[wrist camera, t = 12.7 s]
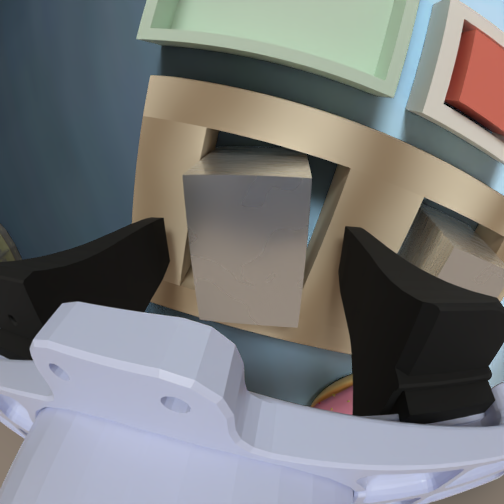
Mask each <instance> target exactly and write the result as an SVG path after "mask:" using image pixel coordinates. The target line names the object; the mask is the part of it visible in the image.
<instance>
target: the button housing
mask: <svg viewBox="0 0 504 504" xmlns="http://www.w3.org/2000/svg"><path fill="white" fill-rule="evenodd" d="M475 29H476V30H478V31H479V32H480V33H482V34H483V35H485V36H486V37H487V38H489V39H490V40H491V41H493V42H494V43H495V44H497V45H498V46H499V47H500V48H502V49H503V50H504V32H502V31H501V30H500V29H499V28H497V27H496V26H495V25H493V24H492V23H491V22H490V21H488V20H487V19H485V18H484V17H483V16H481V15H480V14H478V13H477V12H476V11H474V10H473V9H471V8H470V7H468V6H467V5H465V4H464V3H462V2H460V1H459V0H441V1H439V2H437V3H435V4H433V7H432V12H431V16H430V21H429V25H428V30H427V34H426V38H425V42H424V46H423V50H422V54H421V58H420V61H419V65H418V69H417V72H416V76H415V79H414V83H413V86H412V89H411V93H410V96H409V99H408V102H407V106H406V110H408V111H411V112H413V113H415V114H417V115H419V116H421V117H423V118H425V119H427V120H429V121H431V122H433V123H434V124H436V125H438V126H440V127H442V128H444V129H446V130H447V131H449V132H451V133H453V134H454V135H456V136H458V137H460V138H461V139H463V140H465V141H466V142H468V143H470V144H471V145H473V146H475V147H476V148H478V149H479V150H481V151H482V152H484V153H486V154H487V155H489V156H490V157H492V158H493V159H495V160H496V161H498V162H500V163H502V164H504V136H503V135H500V134H498V133H495V132H492V134H491V133H489V132H488V131H486V130H485V129H483V128H482V127H480V126H479V125H477V124H476V123H474V122H473V121H471V120H469V119H468V118H466V117H465V116H463V115H461V114H460V113H458V112H456V111H455V110H453V109H451V108H450V107H448V106H446V105H444V101H445V97H446V94H447V90H448V87H449V83H450V80H451V76H452V72H453V68H454V64H455V60H456V56H457V52H458V47H459V43H460V38H461V33H462V32H466V31H471V30H475Z"/></svg>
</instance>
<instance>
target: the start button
mask: <svg viewBox="0 0 504 504" xmlns="http://www.w3.org/2000/svg"><path fill="white" fill-rule="evenodd" d="M445 102H446V103H448V104H450V105H452V106H453V107H455V108H457V109H458V110H460V111H462V112H463V113H465V114H466V115H468V116H470V117H471V118H473V119H474V120H476V121H477V122H479V123H480V124H482V125H483V126H485V127H486V128H488V129H489V130H491V131H492V132H495V133H498V134H500V135H503V136H504V50H503V49H502V48H500V47H499V46H498V45H497V44H495V43H494V42H493V41H491V40H490V39H489V38H487V37H486V36H485V35H483V34H482V33H480V32H479V31H478V30H476V29H475V30H471V31H466V32H462V33H461V38H460V43H459V47H458V52H457V56H456V60H455V64H454V68H453V72H452V76H451V80H450V83H449V87H448V90H447V94H446V97H445Z"/></svg>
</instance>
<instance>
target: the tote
mask: <svg viewBox="0 0 504 504" xmlns="http://www.w3.org/2000/svg"><path fill="white" fill-rule="evenodd" d="M418 5H419V0H147V2H146V5H145V8H144V12H143V16H142V19H141V23H140V27H139V31H138V35H137V39H138V40H143V41H147V42H151V43H155V44H158V45H165V46H176V47H186V48H195V49H202V50H209V51H216V52H222V53H228V54H234V55H239V56H244V57H249V58H254V59H259V60H263V61H268V62H272V63H276V64H280V65H284V66H288V67H291V68H295V69H299V70H302V71H306V72H309V73H312V74H316V75H319V76H322V77H325V78H328V79H331V80H334V81H337V82H340V83H343V84H346V85H348V86H351V87H354V88H356V89H359V90H362V91H364V92H367V93H369V94H372V95H374V96H379V97H390V98H394V95H395V92H396V89H397V85H398V82H399V79H400V75H401V72H402V68H403V65H404V61H405V58H406V54H407V50H408V46H409V43H410V39H411V35H412V31H413V27H414V22H415V18H416V14H417V9H418Z"/></svg>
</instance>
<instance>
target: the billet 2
mask: <svg viewBox="0 0 504 504" xmlns="http://www.w3.org/2000/svg"><path fill="white" fill-rule="evenodd" d="M397 254H398V255H399V256H401V257H402V258H404V259H405V260H407V261H408V262H410V263H411V264H413V265H415V266H417V267H418V268H420V269H422V270H424V271H425V272H427V273H429V274H431V275H433V276H435V277H438V278H440V279H442V280H444V281H446V282H449V283H451V284H454V285H456V286H459V287H462V288H465V289H468V290H471V291H474V292H478V293H481V294H485V295H489V296H493V297H496V298H497V297H498V296H499V294H500V293H501V291H502V290H503V288H504V263H503V261H502V260H501V259H500V258H499V257H498V256H497V255H496V254H495V252H494V251H493V250H492V249H491V248H490V247H489V246H488V245H487V244H486V243H485V242H484V241H483V240H482V239H481V238H480V237H479V236H478V234H477V233H476V232H475V231H474V230H473V229H472V228H471V227H470V226H469V225H468V224H466V223H464V222H462V221H460V220H458V219H456V218H453V217H451V216H449V215H447V214H445V213H443V212H441V211H438V210H436V209H434V208H432V207H429V206H427V205H425V204H422V203H421V205H420V207H419V210H418V212H417V214H416V216H415V218H414V221H413V223H412V225H411V227H410V229H409V231H408V233H407V235H406V237H405V239H404V241H403V243H402V245H401V247H400V249H399V251H398V253H397Z"/></svg>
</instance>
